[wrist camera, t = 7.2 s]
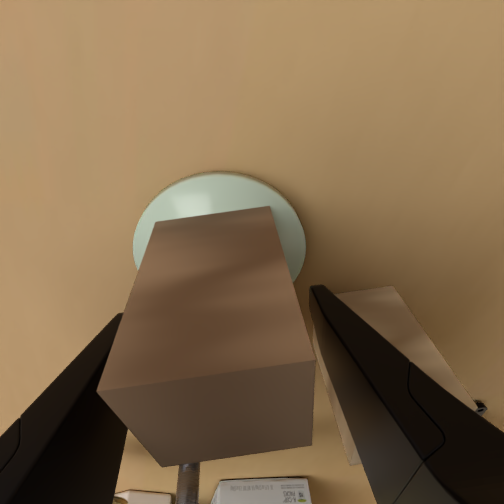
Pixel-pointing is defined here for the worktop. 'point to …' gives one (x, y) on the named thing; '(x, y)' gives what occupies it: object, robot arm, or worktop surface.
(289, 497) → the tea box
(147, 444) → the block walnut
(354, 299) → the block beech
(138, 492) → the jar
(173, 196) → the dish
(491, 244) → the worktop surface
